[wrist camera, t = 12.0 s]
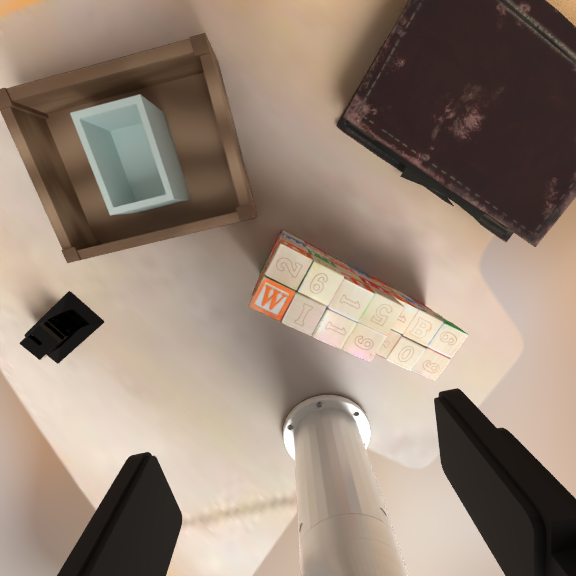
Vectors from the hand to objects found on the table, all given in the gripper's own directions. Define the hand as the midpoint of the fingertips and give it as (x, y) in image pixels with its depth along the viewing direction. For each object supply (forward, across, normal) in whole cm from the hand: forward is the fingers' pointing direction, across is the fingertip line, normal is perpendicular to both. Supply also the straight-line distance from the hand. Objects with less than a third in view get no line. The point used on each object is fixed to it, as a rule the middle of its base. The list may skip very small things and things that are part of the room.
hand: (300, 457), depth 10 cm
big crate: (+28, +12, -15) cm, 34 cm away
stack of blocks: (+29, -6, +4) cm, 30 cm away
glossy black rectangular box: (+29, +30, +1) cm, 42 cm away
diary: (+29, -24, -12) cm, 39 cm away
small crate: (+28, +12, -15) cm, 34 cm away
